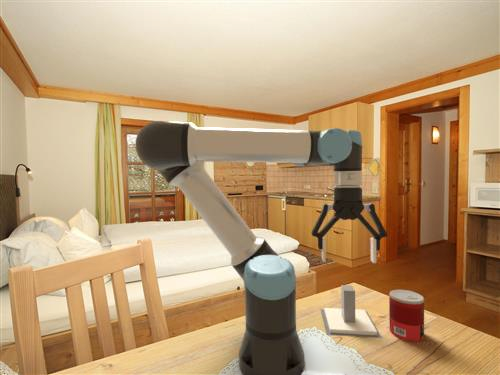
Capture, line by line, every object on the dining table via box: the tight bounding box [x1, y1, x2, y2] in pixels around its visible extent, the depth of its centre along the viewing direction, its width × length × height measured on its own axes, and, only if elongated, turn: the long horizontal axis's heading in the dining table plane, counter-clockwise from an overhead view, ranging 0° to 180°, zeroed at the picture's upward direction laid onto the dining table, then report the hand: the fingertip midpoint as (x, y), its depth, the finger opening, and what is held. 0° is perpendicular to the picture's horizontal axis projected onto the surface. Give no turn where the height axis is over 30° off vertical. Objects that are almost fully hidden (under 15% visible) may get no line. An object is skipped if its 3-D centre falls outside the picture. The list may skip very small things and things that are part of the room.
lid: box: [323, 284, 377, 335], centre depth 78 cm, size 12×12×10 cm
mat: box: [319, 309, 383, 339], centre depth 78 cm, size 14×14×1 cm
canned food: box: [388, 289, 425, 343], centre depth 72 cm, size 8×8×11 cm
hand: (348, 261), depth 78 cm, fingers open, 13 cm apart
